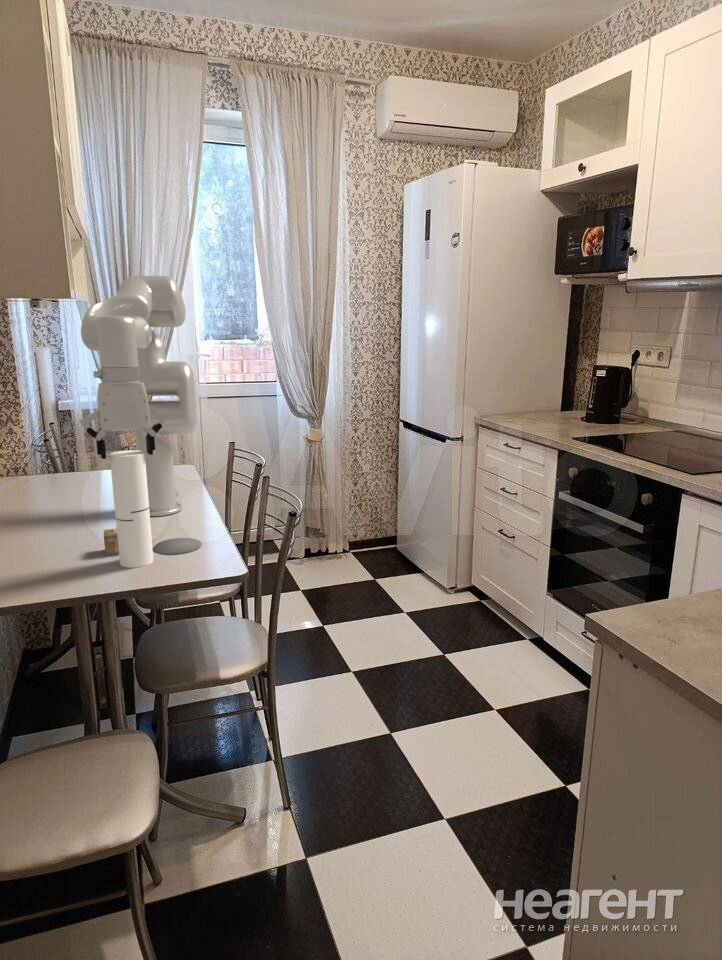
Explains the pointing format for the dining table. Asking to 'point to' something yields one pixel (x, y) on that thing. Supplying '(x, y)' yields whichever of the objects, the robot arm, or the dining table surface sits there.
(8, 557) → the dining table surface
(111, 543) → the wooden letter cube
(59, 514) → the dining table surface
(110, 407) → the robot arm
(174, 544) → the charcoal mat
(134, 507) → the cylindrical container
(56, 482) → the dining table surface
